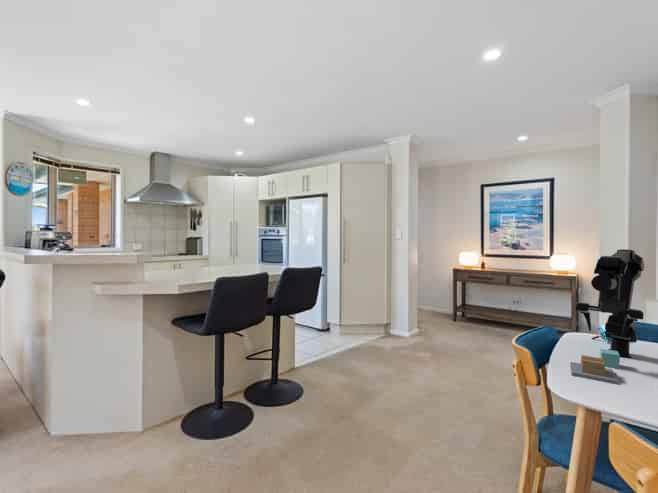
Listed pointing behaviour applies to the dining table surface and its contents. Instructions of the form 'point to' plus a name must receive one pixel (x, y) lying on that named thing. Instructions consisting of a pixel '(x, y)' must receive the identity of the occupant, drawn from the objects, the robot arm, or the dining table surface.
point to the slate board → (578, 372)
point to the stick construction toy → (602, 334)
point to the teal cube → (610, 358)
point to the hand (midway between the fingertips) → (605, 333)
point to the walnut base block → (592, 365)
